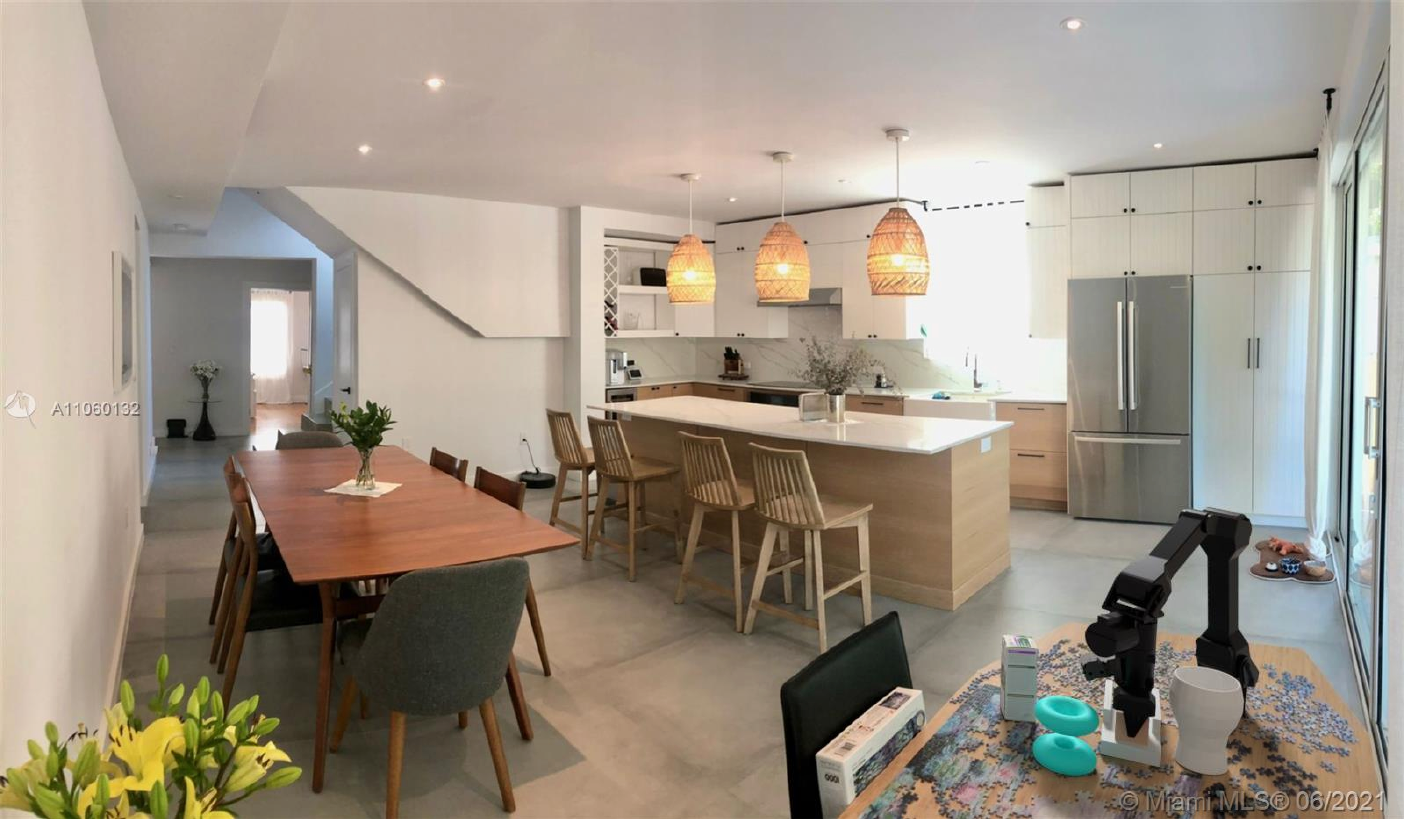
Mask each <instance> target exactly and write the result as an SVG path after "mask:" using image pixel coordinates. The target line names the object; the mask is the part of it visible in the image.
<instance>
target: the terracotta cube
mask: <svg viewBox="0 0 1404 819" xmlns="http://www.w3.org/2000/svg"><path fill="white" fill-rule="evenodd" d="M1149 719H1150V717H1148V719H1147V720H1146V722H1145V723H1144V724H1143V726H1142V728H1141V729H1140V731H1139V732H1138V734H1137V735H1136V737H1135V738H1131V737H1128V736H1127V731H1126V726H1125V720H1124V714H1123V711H1118V710H1116V723H1115V739H1118V740H1122V741H1127V742H1132V743H1136V744H1141V745H1145V746H1148V734H1149Z"/></svg>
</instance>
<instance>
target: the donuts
mask: <svg viewBox="0 0 1404 819" xmlns="http://www.w3.org/2000/svg"><path fill="white" fill-rule="evenodd" d="M1034 712H1035V716H1036V720H1037V721H1038V722H1039V723H1040V725H1042V726H1043V727H1045V728H1046V729H1048V730H1049V731H1052V733H1044V734H1042V735H1040V736H1039V737H1037V738H1036V739H1035V740H1034V741H1033V743H1032V747H1031V748H1032V754H1033V757H1034V758H1035V760H1036V761H1037V762H1038V763H1039V764H1040V765H1041V766H1043V767H1044V768H1045V769H1048V770H1049V771H1051V772H1054V773H1058V774H1061V775H1065V776H1074V777H1076V776H1077V777H1078V776H1085V775H1088V774H1090V773H1091V772H1093V771H1094V770H1095V769H1096V767H1097V764H1098V758H1097V754H1096V752H1095V751H1094V749H1093V748H1092V747H1091V746H1090V745H1089V744H1088V743H1087V742H1085V741H1084V740H1082V739H1080V738H1079V737H1084V736H1087V735H1091V734H1093V733H1094V732H1095V731H1096V730H1098V728H1099V726H1100V717H1099V714H1098V713H1097V710H1096V709H1094V707H1092V706H1091V705H1090V704H1088V703H1086V702H1085V701H1082V700H1080V699H1077V698H1075V697H1074V698H1073V697H1070V696H1064V695H1048V696H1045V697H1042V698H1040V699H1039V700H1038V701H1036V705H1035V708H1034Z"/></svg>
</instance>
